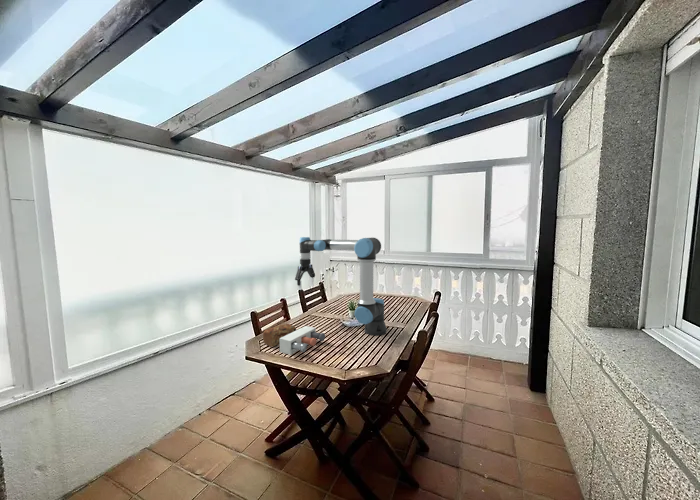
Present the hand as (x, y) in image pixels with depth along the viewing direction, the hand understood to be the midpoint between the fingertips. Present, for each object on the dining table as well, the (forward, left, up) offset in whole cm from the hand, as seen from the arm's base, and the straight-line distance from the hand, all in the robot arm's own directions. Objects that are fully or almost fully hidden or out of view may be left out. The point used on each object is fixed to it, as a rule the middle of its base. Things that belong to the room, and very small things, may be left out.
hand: (305, 287), depth 207 cm
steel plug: (-24, +40, -26) cm, 53 cm away
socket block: (-18, +31, -28) cm, 45 cm away
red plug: (-24, +31, -26) cm, 47 cm away
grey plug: (-24, +22, -26) cm, 41 cm away
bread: (-3, +31, -28) cm, 42 cm away
